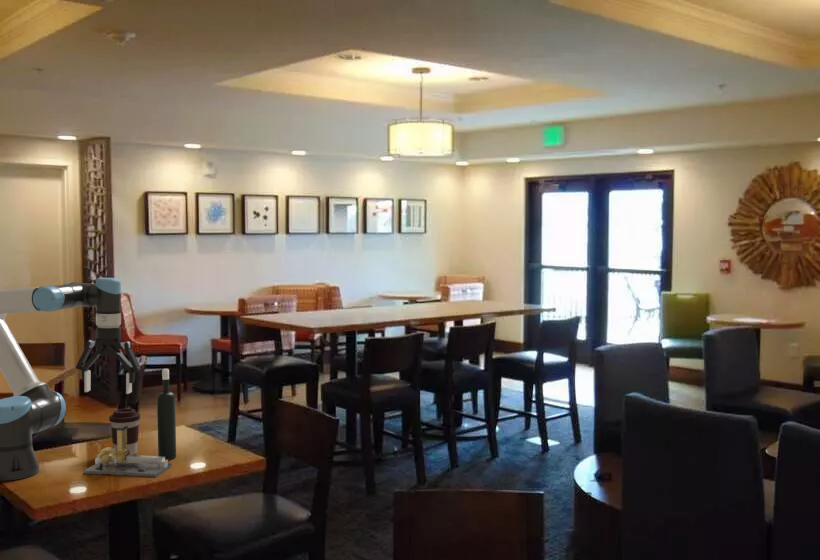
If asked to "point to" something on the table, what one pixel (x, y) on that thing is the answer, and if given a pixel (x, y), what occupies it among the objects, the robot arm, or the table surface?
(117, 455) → the sliding leg
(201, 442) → the table surface
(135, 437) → the coffee cup
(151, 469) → the trammel plate
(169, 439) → the wine bottle
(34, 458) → the robot arm
